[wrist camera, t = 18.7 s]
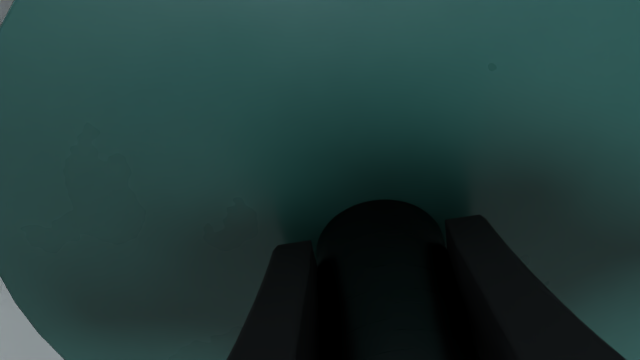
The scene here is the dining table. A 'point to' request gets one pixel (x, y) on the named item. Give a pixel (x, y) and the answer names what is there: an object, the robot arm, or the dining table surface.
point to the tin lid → (312, 165)
